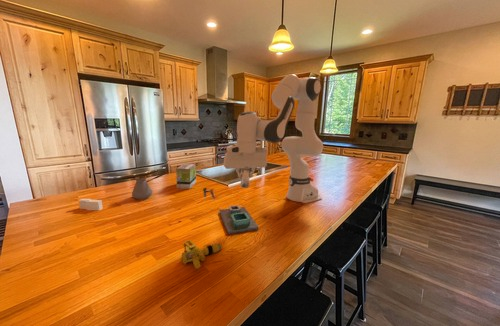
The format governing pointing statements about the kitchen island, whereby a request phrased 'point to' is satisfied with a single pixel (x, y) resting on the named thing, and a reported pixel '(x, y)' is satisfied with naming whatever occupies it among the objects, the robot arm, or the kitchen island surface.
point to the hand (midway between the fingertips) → (245, 177)
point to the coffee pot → (143, 187)
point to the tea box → (186, 176)
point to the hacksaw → (209, 191)
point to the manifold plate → (237, 220)
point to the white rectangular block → (90, 204)
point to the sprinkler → (198, 253)
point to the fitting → (245, 177)
